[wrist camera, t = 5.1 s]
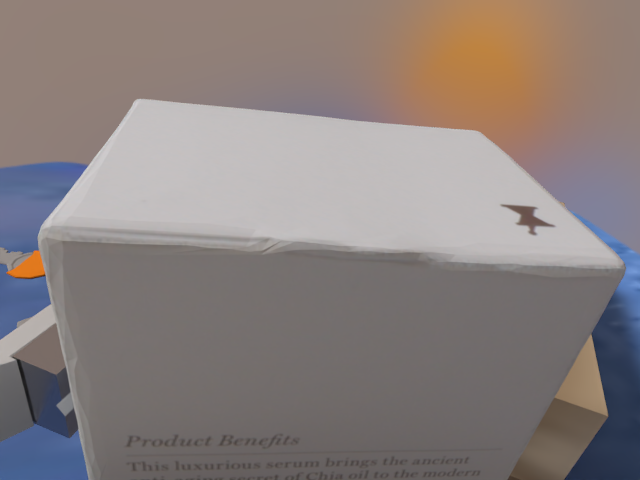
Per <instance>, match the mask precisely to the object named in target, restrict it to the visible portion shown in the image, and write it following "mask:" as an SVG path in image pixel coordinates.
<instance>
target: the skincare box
mask: <svg viewBox="0 0 640 480" xmlns="http://www.w3.org/2000/svg"><path fill="white" fill-rule="evenodd" d="M38 245H39V251H40V255H41V259H42V263H43V267H44V270H45V275H46V280H47V285H48V290H49V295H50V300H51V304H52V308H53V312H54V316H55V320H56V324H57V329H58V334H59V339H60V344H61V349H62V353H63V357H64V361H65V365H66V369H67V374H68V380H69V385H70V390H71V396H72V401H73V405H74V409H75V413H76V418H77V422H78V429H79V436H80V440H81V444H82V449H83V453H84V458H85V463H86V468H87V473H88V478H89V480H507V479H508V478H509V476H510V474H511V472H512V471H513V469H514V467H515V465H516V463H517V461H518V459H519V458H520V456H521V454H522V453H523V451H524V450H525V448H526V446H527V445H528V443H529V441H530V439H531V437H532V436H533V434H534V432H535V430H536V428H537V427H538V425H539V423H540V421H541V420H542V418H543V416H544V415H545V413H546V411H547V409H548V408H549V406H550V404H551V402H552V401H553V399H554V397H555V396H556V394H557V392H558V390H559V389H560V387H561V385H562V383H563V382H564V380H565V378H566V376H567V375H568V373H569V371H570V369H571V368H572V366H573V364H574V362H575V360H576V359H577V357H578V355H579V353H580V351H581V350H582V348H583V346H584V345H585V343H586V342H587V340H588V338H589V337H590V335H591V333H592V331H593V330H594V328H595V326H596V324H597V323H598V321H599V319H600V317H601V316H602V314H603V312H604V310H605V308H606V307H607V305H608V303H609V301H610V299H611V297H612V295H613V293H614V292H615V290H616V288H617V287H618V285H619V283H620V282H621V280H622V278H623V277H624V274H625V270H626V267H625V264H624V262H623V261H622V260H621V258H620V257H619V256H618V255H617V254H616V253H615V252H614V251H613V250H612V249H611V248H610V247H609V246H608V245H606V244H605V243H604V242H603V241H602V240H601V239H600V238H599V237H598V236H596V235H595V234H594V233H593V232H592V231H591V230H590V229H589V228H588V227H586V226H585V225H584V224H583V223H582V222H581V221H580V220H579V219H578V218H576V217H575V216H574V215H573V214H572V213H571V212H570V211H569V210H568V209H566V208H565V207H564V206H563V205H562V204H561V203H560V202H559V201H558V200H556V199H555V198H554V197H553V196H552V195H551V194H550V193H549V192H547V190H545V189H544V188H543V187H542V186H541V185H540V184H539V183H538V182H537V181H536V180H535V179H534V178H533V177H532V176H531V175H529V174H528V173H527V172H526V171H525V170H524V169H523V168H522V167H520V166H519V165H518V164H517V163H516V162H515V161H514V160H513V159H512V158H511V157H510V156H508V155H507V154H506V153H505V152H504V151H503V150H501V149H500V148H499V147H498V146H497V145H496V144H494V143H493V142H492V141H490V140H489V139H488V138H486V137H485V136H484V135H483V134H482V133H480V132H478V131H474V130H462V129H448V128H435V127H434V128H433V127H422V126H410V125H399V124H384V123H374V122H363V121H353V120H343V119H337V118H329V117H320V116H310V115H299V114H291V113H281V112H271V111H259V110H250V109H241V108H230V107H219V106H209V105H198V104H188V103H177V102H168V101H158V100H149V99H137V100H136V101H135V102H134V103H133V105H132V107H131V108H130V110H129V111H128V113H127V114H126V116H125V117H124V119H123V120H122V122H121V123H120V125H119V126H118V128H117V129H116V131H115V132H114V133H113V134H112V136H111V137H110V138H109V140H108V141H107V142H106V144H105V145H104V146H103V148H102V149H101V150H100V151H99V153H98V154H97V155H96V156H95V158H94V159H93V160H92V162H91V163H90V165H89V166H88V167H87V169H86V170H85V171H84V173H83V174H82V175H81V177H80V178H79V179H78V181H77V182H76V183H75V184H74V186H73V187H72V188H71V190H70V191H69V192H68V194H67V195H66V196H65V197H64V199H63V200H62V201H61V203H60V204H59V205H58V206H57V207H56V209H55V210H54V211H53V212H52V213H51V214H50V216H49V217H48V218H47V219H46V220H45V222H44V223H43V225H42V226H41V229H40V232H39V235H38Z"/></svg>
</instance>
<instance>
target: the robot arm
mask: <svg viewBox="0 0 640 480" xmlns="http://www.w3.org/2000/svg"><path fill="white" fill-rule="evenodd" d="M34 423H35V424H37V425H39V426H42V427H44V428H46V429H49V430H51V431H53V432H56V433H58V434H61V435H63V436H65V437H68V438H70V437H71V436H72V435H73V434H74V433H75V432H76V431H77V430H78V422H77V418H76V413H75V409H74V405H73V401H72V396H71V390H70V385H69V380H68V374H67V369H66V365H65V361H64V357H63V353H62V349H61V344H60V339H59V334H58V329H57V324H56V320H55V316H54V312H53V308H52V304H50V305H49V306H48V307H46V308H45V309H43V310H42V311H41V312H39V313H38V314H36V315H35V316H34V317H32V318H31V319H29V320H28V321H26V322H25V323H24V324H22V325H21V326H19V327H18V328H17V329H15V330H14V331H12V332H11V333H10V334H8V335H7V336H5V337H4V338H3V339H1V340H0V442H1V441H3V440H5V439H8V438H10V437H12V436H14V435H16V434H18V433H20V432H22V431H24V430H26V429H28V428H30V427H33V426H34Z"/></svg>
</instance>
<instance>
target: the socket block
mask: <svg viewBox="0 0 640 480" xmlns="http://www.w3.org/2000/svg"><path fill="white" fill-rule="evenodd" d="M560 203H561V204H562V205H563V206H564V207H565V205H564V203H562V202H560ZM607 418H608V412H607V407H606V402H605V398H604V393H603V388H602V383H601V378H600V373H599V369H598V364H597V359H596V354H595V349H594V344H593V340H592V335H590V337H589V338H588V340H587V342H586V343H585V345H584V346H583V348H582V350H581V351H580V353H579V355H578V357H577V359H576V360H575V362H574V364H573V366H572V368H571V369H570V371H569V373H568V375H567V376H566V378H565V380H564V382H563V383H562V385H561V387H560V389H559V390H558V392H557V394H556V396H555V397H554V399H553V401H552V402H551V404H550V406H549V408H548V409H547V411H546V413H545V415H544V416H543V418H542V420H541V421H540V423H539V425H538V427H537V428H536V430H535V432H534V434H533V436H532V437H531V439H530V441H529V443H528V445H527V446H526V448H525V450H524V451H523V453H522V454H521V456H520V458H519V459H518V461H517V463H516V465H515V467H514V469H513V471H512V472H511V474H510V476H509V478H508V479H507V480H564V479H565V478H566V476H567V475H568V473H569V472H570V470H571V469H572V468H573V466H574V465H575V463H576V462H577V460H578V459H579V458H580V456H581V455H582V453H583V452H584V451H585V449H586V448H587V446H588V445H589V443H590V442H591V441H592V439H593V438H594V436H595V435H596V433H597V432H598V431H599V429H600V428H601V426H602V425H603V423H604V422H605V421H606V419H607Z"/></svg>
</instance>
